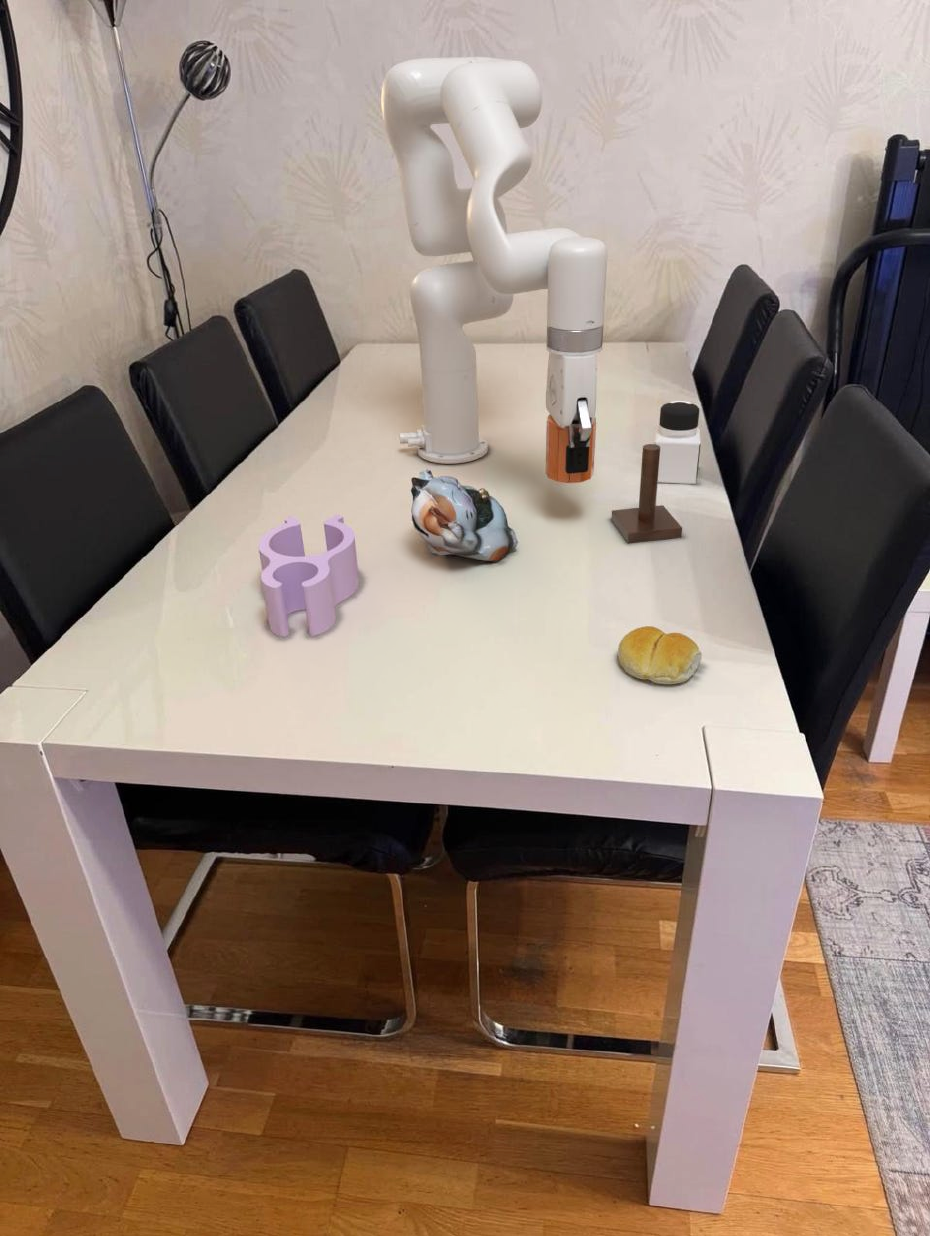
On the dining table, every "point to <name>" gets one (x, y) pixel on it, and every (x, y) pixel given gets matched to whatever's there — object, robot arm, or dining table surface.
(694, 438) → the medicine bottle
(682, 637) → the bread roll
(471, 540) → the lucky cat figurine
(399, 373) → the dining table surface
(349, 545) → the clip
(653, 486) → the stand
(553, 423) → the cup
